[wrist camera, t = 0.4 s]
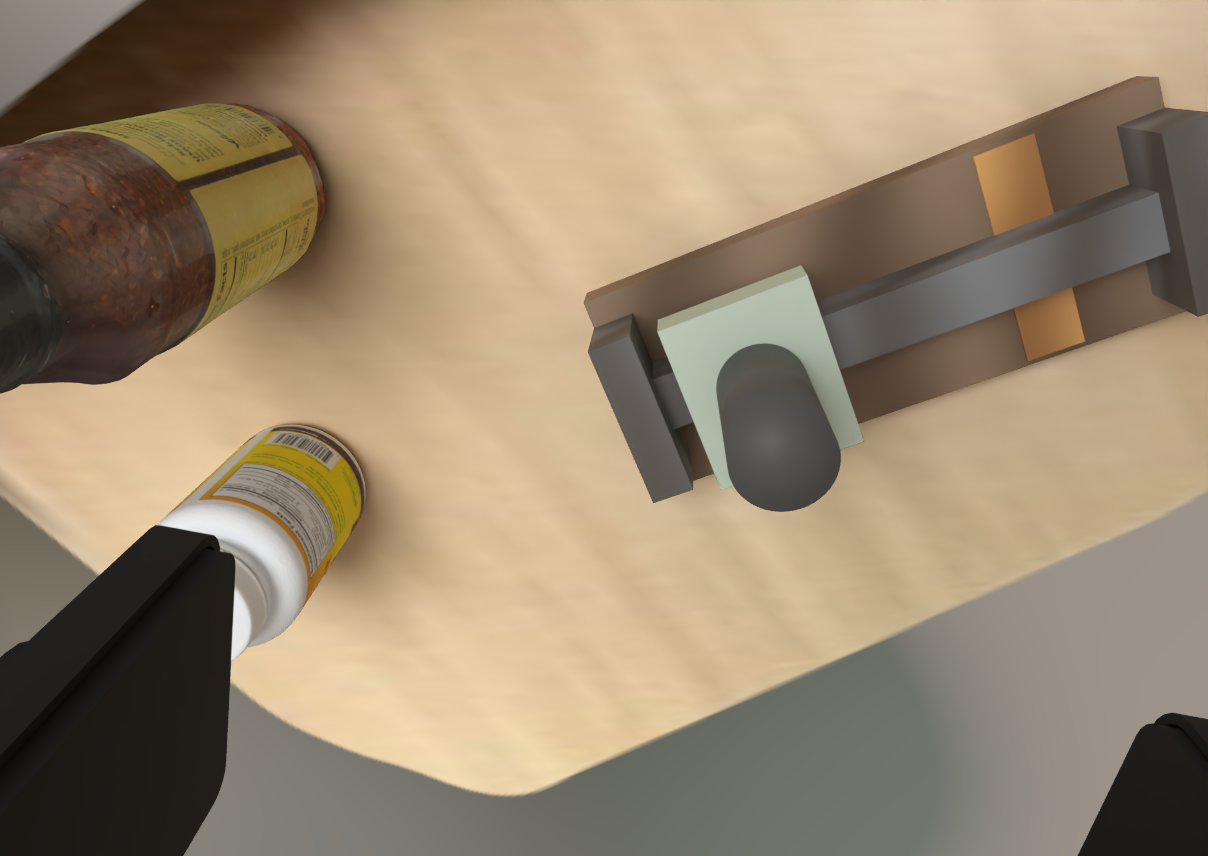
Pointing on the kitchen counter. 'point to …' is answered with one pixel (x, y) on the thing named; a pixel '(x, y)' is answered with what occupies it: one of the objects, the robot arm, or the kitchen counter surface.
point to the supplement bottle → (276, 522)
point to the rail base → (903, 239)
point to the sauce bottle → (143, 235)
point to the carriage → (764, 390)
